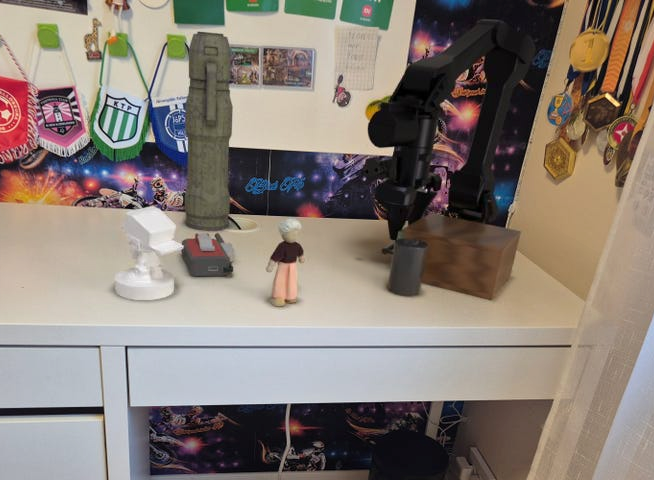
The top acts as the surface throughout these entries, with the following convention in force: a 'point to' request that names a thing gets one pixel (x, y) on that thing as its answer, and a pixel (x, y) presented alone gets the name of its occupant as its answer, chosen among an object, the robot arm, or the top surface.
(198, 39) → the thermos
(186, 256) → the walkie-talkie
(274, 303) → the grandmother figurine
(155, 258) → the character figurine
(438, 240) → the cabinet
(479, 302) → the top surface
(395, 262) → the cup
